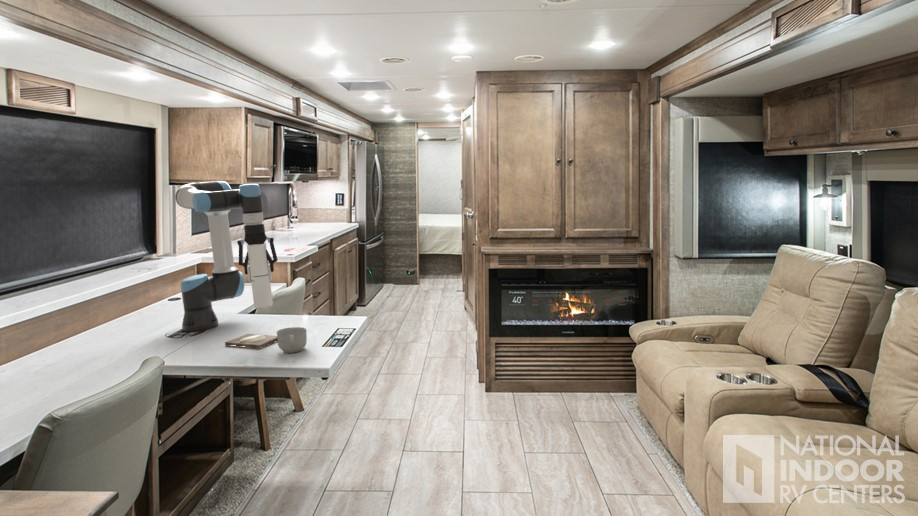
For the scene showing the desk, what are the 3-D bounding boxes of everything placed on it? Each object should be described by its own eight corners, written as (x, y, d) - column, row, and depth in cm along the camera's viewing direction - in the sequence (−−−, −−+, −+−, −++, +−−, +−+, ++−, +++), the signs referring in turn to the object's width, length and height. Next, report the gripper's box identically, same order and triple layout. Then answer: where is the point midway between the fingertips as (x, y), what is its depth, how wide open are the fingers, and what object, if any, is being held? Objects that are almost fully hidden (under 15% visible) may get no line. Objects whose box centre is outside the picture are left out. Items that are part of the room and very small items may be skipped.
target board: (225, 345, 240) (224, 341, 240) (247, 337, 251) (247, 333, 251) (259, 348, 233) (259, 344, 233) (281, 339, 243) (280, 335, 243)
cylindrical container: (267, 307, 238) (260, 245, 234) (250, 308, 239) (243, 245, 235) (276, 303, 245) (269, 242, 241) (259, 303, 246) (252, 242, 242)
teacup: (282, 347, 233) (279, 327, 231) (310, 344, 233) (308, 324, 232) (274, 358, 219) (271, 337, 218) (304, 356, 220) (302, 334, 219)
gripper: (225, 226, 231) (232, 285, 235) (279, 222, 235) (285, 280, 239) (228, 224, 238) (235, 281, 242) (281, 220, 242) (287, 276, 246)
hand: (260, 281), depth 240 cm, fingers closed on cylindrical container, 7 cm apart
